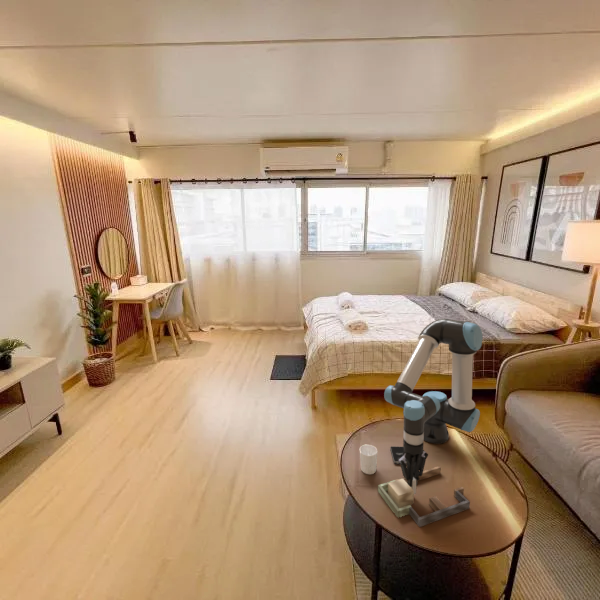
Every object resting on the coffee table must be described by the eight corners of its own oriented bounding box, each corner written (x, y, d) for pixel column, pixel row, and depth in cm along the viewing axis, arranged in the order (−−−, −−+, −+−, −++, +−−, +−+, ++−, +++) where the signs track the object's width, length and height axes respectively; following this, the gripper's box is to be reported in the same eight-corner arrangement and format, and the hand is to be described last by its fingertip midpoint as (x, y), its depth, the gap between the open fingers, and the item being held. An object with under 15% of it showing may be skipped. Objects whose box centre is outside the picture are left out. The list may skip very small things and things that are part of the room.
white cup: (366, 461, 154) (366, 442, 152) (380, 468, 149) (380, 449, 147) (356, 469, 149) (356, 450, 147) (371, 478, 143) (370, 458, 141)
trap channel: (438, 471, 145) (439, 466, 144) (475, 506, 126) (476, 499, 126) (378, 491, 136) (378, 485, 135) (407, 531, 117) (407, 524, 116)
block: (402, 491, 135) (402, 478, 134) (413, 503, 129) (413, 490, 128) (388, 495, 133) (388, 483, 132) (398, 508, 127) (398, 495, 126)
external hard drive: (394, 465, 151) (394, 461, 151) (390, 449, 162) (390, 446, 162) (409, 465, 150) (409, 461, 150) (404, 450, 161) (404, 446, 161)
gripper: (420, 430, 133) (419, 481, 138) (393, 438, 129) (393, 489, 134) (433, 441, 126) (431, 494, 131) (405, 449, 122) (404, 503, 127)
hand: (412, 491), depth 132 cm, fingers closed
